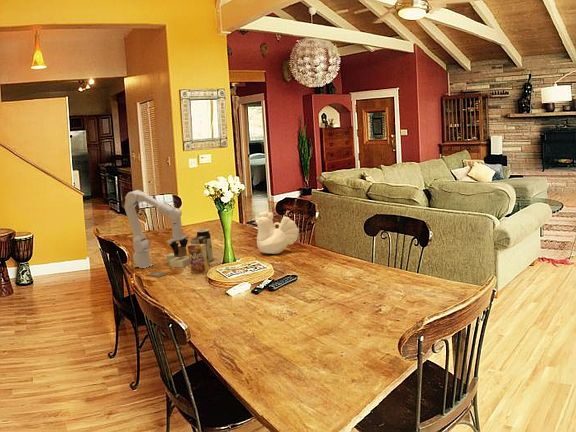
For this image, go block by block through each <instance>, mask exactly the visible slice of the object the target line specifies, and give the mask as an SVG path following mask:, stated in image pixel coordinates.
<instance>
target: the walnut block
mask: <svg viewBox="0 0 576 432" xmlns="http://www.w3.org/2000/svg"><path fill="white" fill-rule="evenodd" d="M183 256H185V257H187V256H188V251H187V246H186V247H183V246H181V245H180V246H179V245H178V255H175V254H174V257H183Z"/></svg>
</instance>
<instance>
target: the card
mask: <svg viewBox="0 0 576 432" xmlns="http://www.w3.org/2000/svg"><path fill="white" fill-rule="evenodd" d="M166 275H169V272H162V271H154V272H151V273H147V274H145V276H146V277H150V276H151V277H152V278H162V277H164V276H166Z"/></svg>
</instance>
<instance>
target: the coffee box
mask: <svg viewBox="0 0 576 432" xmlns="http://www.w3.org/2000/svg"><path fill="white" fill-rule="evenodd" d="M190 244H205V246H206V254H207V263H208V265H209V264H210V261H209V255H208V247H207V238H206V236H199V237H196V236H194V237H193V238H192V239H190Z"/></svg>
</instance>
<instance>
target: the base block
mask: <svg viewBox="0 0 576 432" xmlns="http://www.w3.org/2000/svg"><path fill="white" fill-rule="evenodd" d="M169 261H170V264H169V266H170V268H184V267H187V266H190V262H189V256H183V257H176V258H174V259H172V260H169Z"/></svg>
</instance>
